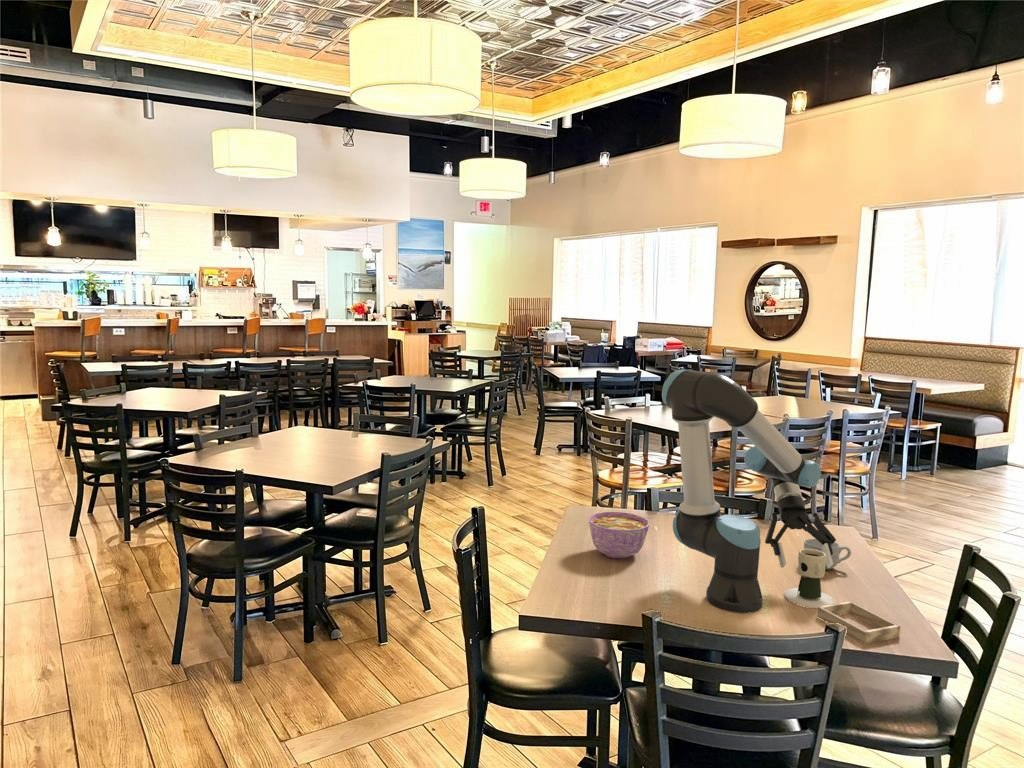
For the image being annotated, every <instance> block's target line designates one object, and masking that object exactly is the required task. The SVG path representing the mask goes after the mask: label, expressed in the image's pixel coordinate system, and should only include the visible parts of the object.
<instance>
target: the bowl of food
mask: <svg viewBox="0 0 1024 768" xmlns="http://www.w3.org/2000/svg"><path fill="white" fill-rule="evenodd" d="M588 524H589V530H590V536H591V539H592V543H593V546H594V548H595V549H596V550H598V551H599V552H600V553H602V554H604V555H605V556H606V555H607V557H609V558H611V557H612V558H611V559H616V558H624V559H628V558H629V557H631V556H634V555H636V554H638V553H639V552H640V551H641V549H642V548H643V546H644V544H645V542H646V538H647V535H648V532H649V528H650V521H649V519H647V518H645V517H644V516H642V515H638V514H635V513H632V512H623V511H601V512H597V513H594V514H592V515H590V516H588ZM627 557H628V558H627Z"/></svg>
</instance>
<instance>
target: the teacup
mask: <svg viewBox="0 0 1024 768" xmlns="http://www.w3.org/2000/svg"><path fill="white" fill-rule="evenodd" d="M822 546H823V545H822V544H821V543H820V542H819V541H818V540H817V539H815V538H808V539H804V540H803V549H814V550H818V551H821V552H823V551H822ZM831 548H832V551H833V554H832V556H831V557H832V561H833V565H832V566H831V567H830V568H827V565H826V563H825V571H826V570H831V569H833V568H835V567H836V566H837V565H838V564H840V563H842V562H843V561H845V560H847V559H849V558H850V557H851V555H852V550H851V549H850V547H848V546H847V545H842V546H841V545H840V543H838V542H836V541H835V542H834V543H833V544H832V545H831ZM843 550H846V551H847V554H845V555H844V556H843V557H840V554H841V553H842V551H843Z"/></svg>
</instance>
